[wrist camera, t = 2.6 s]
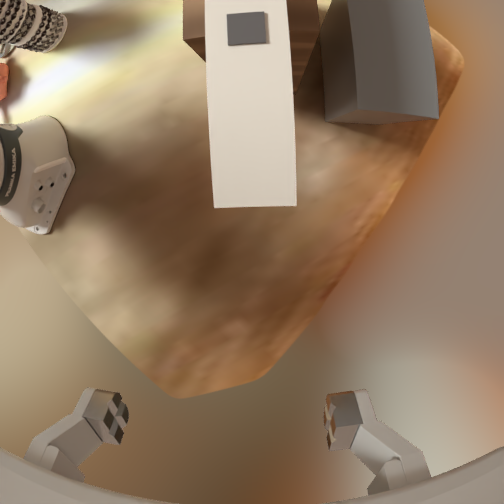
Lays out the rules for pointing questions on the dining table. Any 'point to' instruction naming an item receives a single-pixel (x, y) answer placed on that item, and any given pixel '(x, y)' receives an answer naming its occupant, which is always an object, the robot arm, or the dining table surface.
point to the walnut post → (299, 21)
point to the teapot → (3, 80)
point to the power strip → (250, 103)
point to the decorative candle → (30, 26)
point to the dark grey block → (378, 62)
